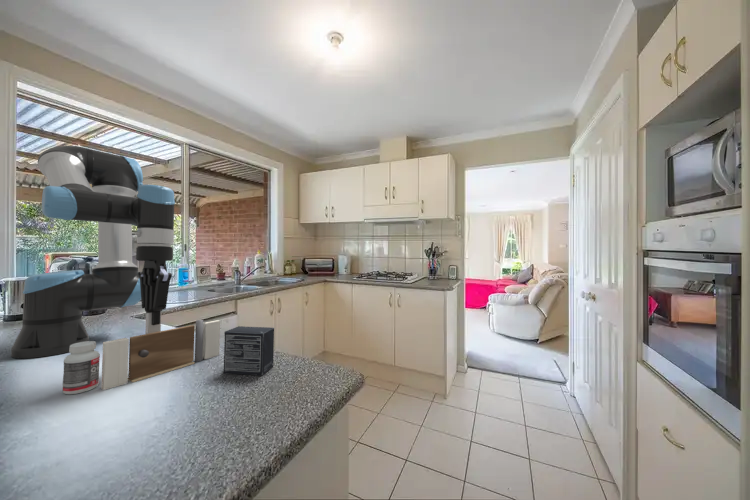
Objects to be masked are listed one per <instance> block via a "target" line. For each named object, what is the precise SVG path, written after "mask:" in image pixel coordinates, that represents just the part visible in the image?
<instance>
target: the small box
mask: <svg viewBox="0 0 750 500" xmlns="http://www.w3.org/2000/svg"><path fill="white" fill-rule="evenodd" d="M274 345H275V327H265V326H263V327H262V326H240V325H238V326H235V327H233V328H231V329H227V330H225V331H224V347H223V349H224V350H223V352H224V353H223V354H224V355H223V374H226V375H227V374H229V375H242V376H243V375H246V376H264V375H265V374H266V373H267V372H268V371H270V369H272V368H274V354H275V353H274V351H275V349H274V347H275V346H274Z"/></svg>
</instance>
